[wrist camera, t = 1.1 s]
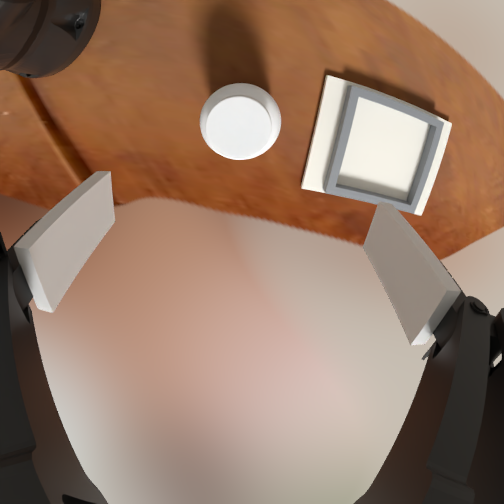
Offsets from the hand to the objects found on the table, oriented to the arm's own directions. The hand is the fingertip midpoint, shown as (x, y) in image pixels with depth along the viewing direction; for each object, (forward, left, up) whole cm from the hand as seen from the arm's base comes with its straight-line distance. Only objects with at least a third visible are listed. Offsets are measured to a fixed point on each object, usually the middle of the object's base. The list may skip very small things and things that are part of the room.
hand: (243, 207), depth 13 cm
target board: (+7, +14, -21) cm, 26 cm away
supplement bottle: (-3, 0, -21) cm, 21 cm away
